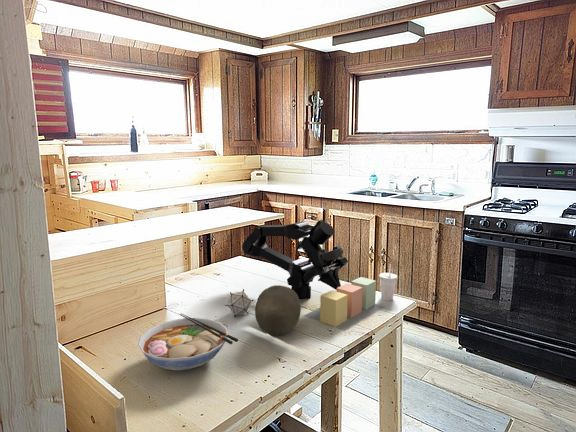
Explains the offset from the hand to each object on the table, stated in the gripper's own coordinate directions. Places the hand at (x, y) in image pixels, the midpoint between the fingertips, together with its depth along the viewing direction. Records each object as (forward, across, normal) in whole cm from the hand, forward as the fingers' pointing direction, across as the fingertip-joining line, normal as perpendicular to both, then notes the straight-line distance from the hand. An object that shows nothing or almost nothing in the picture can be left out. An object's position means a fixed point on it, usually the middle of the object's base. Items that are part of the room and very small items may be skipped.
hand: (340, 290), depth 140 cm
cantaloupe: (+2, -25, +9) cm, 27 cm away
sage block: (+7, +8, +2) cm, 11 cm away
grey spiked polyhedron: (-12, -23, +23) cm, 35 cm away
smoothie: (+11, +19, +1) cm, 22 cm away
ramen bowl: (-3, -53, +14) cm, 55 cm away
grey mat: (+7, 0, +4) cm, 8 cm away
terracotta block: (+7, 0, +2) cm, 7 cm away
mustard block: (+7, -9, +2) cm, 11 cm away
